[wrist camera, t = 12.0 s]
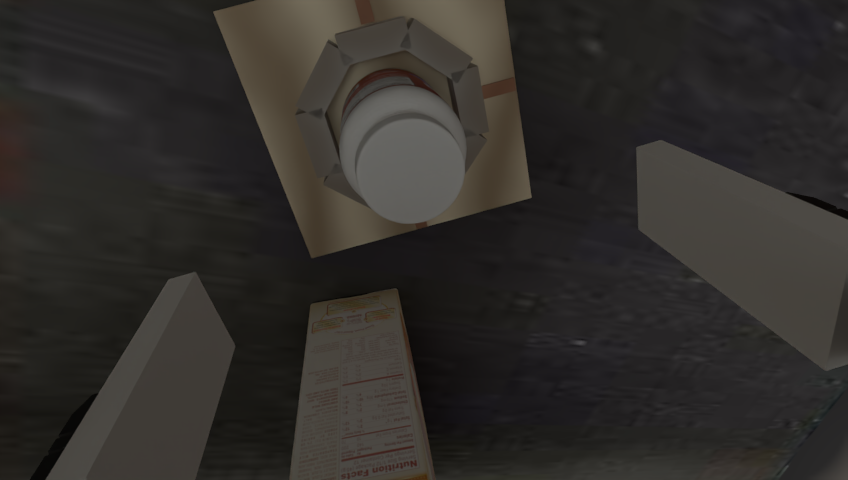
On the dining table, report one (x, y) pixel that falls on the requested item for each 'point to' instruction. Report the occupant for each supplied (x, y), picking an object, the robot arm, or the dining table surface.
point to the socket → (347, 64)
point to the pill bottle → (401, 146)
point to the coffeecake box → (359, 395)
